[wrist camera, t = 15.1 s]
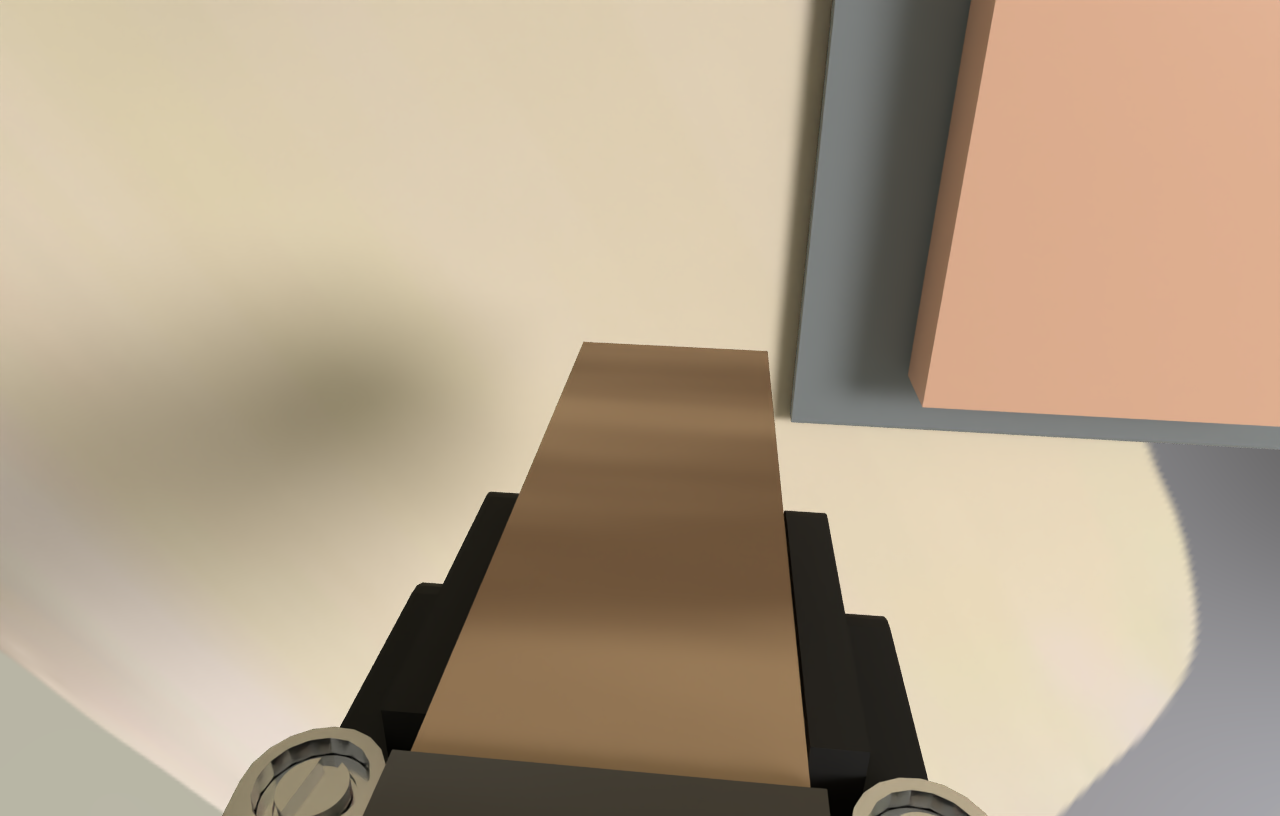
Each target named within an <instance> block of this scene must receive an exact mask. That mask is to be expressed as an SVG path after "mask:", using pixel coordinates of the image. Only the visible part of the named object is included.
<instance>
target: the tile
mask: <svg viewBox="0 0 1280 816" xmlns="http://www.w3.org/2000/svg"><path fill="white" fill-rule="evenodd" d="M908 377H909V379H910V381H911V383H912V386H913V388H914V390H915V392H916V394H917V397H918V399H919V401H920V403H921V405H922V407H926V408H945V409H963V410H982V411H1000V412H1019V413H1037V414H1055V415H1074V416H1092V417H1111V418H1129V419H1148V420H1166V421H1185V422H1203V423H1222V424H1240V425H1258V426H1277V427H1280V0H971V3H970V9H969V15H968V21H967V27H966V33H965V39H964V45H963V51H962V57H961V63H960V68H959V74H958V80H957V86H956V92H955V98H954V104H953V110H952V116H951V122H950V128H949V134H948V140H947V146H946V152H945V158H944V164H943V169H942V175H941V181H940V187H939V193H938V199H937V205H936V211H935V217H934V223H933V229H932V235H931V241H930V247H929V253H928V259H927V265H926V270H925V276H924V282H923V288H922V294H921V300H920V306H919V312H918V318H917V324H916V330H915V336H914V342H913V348H912V354H911V360H910V365H909V371H908Z"/></svg>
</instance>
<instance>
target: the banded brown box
mask: <svg viewBox="0 0 1280 816" xmlns="http://www.w3.org/2000/svg"><path fill="white" fill-rule="evenodd" d="M363 816H830V810H829V801H828V793H827V789H822V788H811V787H810V778H809V768H808V758H807V747H806V737H805V727H804V717H803V707H802V697H801V687H800V676H799V666H798V656H797V646H796V636H795V626H794V615H793V605H792V595H791V585H790V575H789V565H788V555H787V544H786V534H785V524H784V514H783V504H782V494H781V484H780V473H779V463H778V453H777V443H776V433H775V423H774V412H773V402H772V392H771V382H770V372H769V362H768V352H767V351H752V350H733V349H713V348H693V347H673V346H653V345H633V344H613V343H593V342H583V345H582V347H581V349H580V352H579V354H578V356H577V359H576V361H575V363H574V366H573V368H572V371H571V373H570V375H569V378H568V380H567V382H566V385H565V387H564V390H563V392H562V394H561V397H560V399H559V401H558V404H557V406H556V408H555V411H554V413H553V416H552V418H551V420H550V423H549V425H548V427H547V430H546V432H545V434H544V437H543V439H542V442H541V444H540V446H539V449H538V451H537V453H536V456H535V458H534V460H533V463H532V465H531V468H530V470H529V472H528V475H527V477H526V479H525V482H524V484H523V486H522V489H521V491H520V494H519V496H518V498H517V501H516V503H515V505H514V508H513V510H512V513H511V515H510V517H509V520H508V522H507V524H506V527H505V529H504V531H503V534H502V536H501V539H500V541H499V543H498V546H497V548H496V550H495V553H494V555H493V557H492V560H491V562H490V565H489V567H488V569H487V572H486V574H485V576H484V579H483V581H482V583H481V586H480V588H479V591H478V593H477V595H476V598H475V600H474V602H473V605H472V607H471V609H470V612H469V614H468V617H467V619H466V621H465V624H464V626H463V628H462V631H461V633H460V636H459V638H458V640H457V643H456V645H455V647H454V650H453V652H452V654H451V657H450V659H449V662H448V664H447V666H446V669H445V671H444V673H443V676H442V678H441V680H440V683H439V685H438V688H437V690H436V692H435V695H434V697H433V699H432V702H431V704H430V706H429V709H428V711H427V714H426V716H425V718H424V721H423V723H422V725H421V728H420V730H419V732H418V735H417V737H416V740H415V742H414V744H413V747H412V749H411V751H403V750H392V751H391V753H390V756H389V758H388V760H387V762H386V765H385V767H384V769H383V771H382V774H381V776H380V778H379V780H378V782H377V785H376V787H375V789H374V791H373V794H372V796H371V798H370V800H369V803H368V805H367V807H366V809H365V811H364V814H363Z"/></svg>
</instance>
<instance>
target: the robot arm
mask: <svg viewBox="0 0 1280 816" xmlns="http://www.w3.org/2000/svg"><path fill="white" fill-rule="evenodd" d="M518 496H519V494H518V493H503V492H489V493H488V494H487V496H486V498H485V500H484V502H483V504H482V506H481V508H480V510H479V512H478V514H477V516H476V518H475V520H474V522H473V524H472V526H471V528H470V530H469V532H468V534H467V536H466V538H465V540H464V542H463V544H462V546H461V548H460V550H459V552H458V554H457V556H456V559H455V561H454V563H453V565H452V567H451V569H450V571H449V573H448V575H447V577H446V579H445V581H444V583H443V584H436V583H421V584H419V585H417V586H416V588H415V589H414V591H413V592H412V594H411V596H410V598H409V599H408V601H407V603H406V605H405V607H404V609H403V611H402V612H401V614H400V616H399V618H398V620H397V622H396V624H395V625H394V627H393V629H392V631H391V633H390V635H389V637H388V638H387V640H386V642H385V644H384V646H383V648H382V650H381V652H380V653H379V655H378V657H377V659H376V661H375V663H374V665H373V666H372V668H371V670H370V672H369V674H368V676H367V678H366V679H365V681H364V683H363V685H362V687H361V689H360V691H359V692H358V694H357V696H356V698H355V700H354V702H353V704H352V706H351V707H350V709H349V711H348V713H347V715H346V717H345V719H344V720H343V722H342V724H341V726H340V727H328V728H318V729H312V730H309V731H306V732H302V733H299V734H296V735H293V736H290V737H289V738H287V739H285V740H283V741H282V742H280V743H278V744H276V745H274V746H273V747H271V748H269V749H268V750H267V751H266V752H265V753H264V754H263V755H261V756H260V757H259V758H258V759H257V760H256V761H255V762H253V763H252V765H251V766H250V767H249V769H248V770H247V772H246V773H245V775H244V776H243V777H242V779H241V780H240V782H239V784H238V786H237V788H236V790H235V792H234V793H233V795H232V797H231V799H230V801H229V803H228V805H227V807H226V809H225V811H224V813H223V815H222V816H363V814H364V811H365V809H366V807H367V805H368V803H369V800H370V798H371V796H372V794H373V791H374V789H375V787H376V785H377V782H378V780H379V778H380V776H381V774H382V771H383V769H384V767H385V765H386V762H387V760H388V758H389V756H390V753H391V751H392V750H403V751H411V749H412V747H413V744H414V742H415V740H416V737H417V735H418V732H419V730H420V728H421V725H422V723H423V721H424V718H425V716H426V714H427V711H428V709H429V706H430V704H431V702H432V699H433V697H434V695H435V692H436V690H437V688H438V685H439V683H440V680H441V678H442V676H443V673H444V671H445V669H446V666H447V664H448V662H449V659H450V657H451V654H452V652H453V650H454V647H455V645H456V643H457V640H458V638H459V636H460V633H461V631H462V628H463V626H464V624H465V621H466V619H467V617H468V614H469V612H470V609H471V607H472V605H473V602H474V600H475V598H476V595H477V593H478V591H479V588H480V586H481V583H482V581H483V579H484V576H485V574H486V572H487V569H488V567H489V565H490V562H491V560H492V557H493V555H494V553H495V550H496V548H497V546H498V543H499V541H500V539H501V536H502V534H503V531H504V529H505V527H506V524H507V522H508V520H509V517H510V515H511V513H512V510H513V508H514V505H515V503H516V501H517V498H518ZM784 524H785V534H786V544H787V555H788V565H789V575H790V585H791V595H792V605H793V615H794V626H795V636H796V646H797V656H798V666H799V676H800V687H801V697H802V707H803V717H804V727H805V737H806V747H807V758H808V768H809V778H810V787H811V788H822V789H827V793H828V801H829V810H830V816H987V815H986V813H985V812H983V811H982V810H981V809H980V808H979V807H977V806H976V805H975V804H974V803H973V802H971V801H970V800H969V799H968V798H967V797H965V796H963V795H961V794H960V793H958V792H956V791H954V790H952V789H950V788H948V787H946V786H945V785H942V784H938V783H934V782H931V781H928V778H927V774H926V770H925V766H924V762H923V758H922V754H921V750H920V746H919V742H918V738H917V734H916V730H915V726H914V722H913V718H912V714H911V710H910V706H909V702H908V698H907V694H906V690H905V686H904V682H903V678H902V674H901V670H900V666H899V662H898V658H897V654H896V650H895V646H894V642H893V638H892V634H891V630H890V627H889V624H888V621H887V619H886V618H885V617H884V616H870V615H857V614H845V611H844V605H843V600H842V594H841V589H840V583H839V578H838V572H837V567H836V562H835V556H834V551H833V545H832V540H831V534H830V529H829V523H828V518H827V515H826V514H825V513H813V512H798V511H784Z"/></svg>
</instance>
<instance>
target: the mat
mask: <svg viewBox="0 0 1280 816" xmlns="http://www.w3.org/2000/svg"><path fill="white" fill-rule="evenodd" d="M970 3H971V0H833V2H832V11H831V21H830V31H829V40H828V50H827V60H826V69H825V79H824V89H823V98H822V108H821V118H820V127H819V137H818V147H817V157H816V166H815V176H814V186H813V195H812V205H811V215H810V224H809V234H808V244H807V253H806V263H805V273H804V282H803V292H802V302H801V311H800V321H799V331H798V340H797V350H796V360H795V370H794V379H793V389H792V399H791V408H790V416H791V422H798V423H816V424H834V425H852V426H870V427H887V428H905V429H923V430H941V431H958V432H976V433H994V434H1012V435H1030V436H1047V437H1065V438H1083V439H1101V440H1118V441H1136V442H1154V443H1172V444H1173V443H1174V444H1190V445H1207V446H1225V447H1243V448H1261V449H1279V450H1280V427H1277V426H1258V425H1240V424H1222V423H1203V422H1185V421H1166V420H1148V419H1129V418H1111V417H1092V416H1074V415H1055V414H1037V413H1019V412H1000V411H982V410H963V409H945V408H926V407H922V405H921V403H920V401H919V399H918V397H917V394H916V392H915V390H914V388H913V386H912V383H911V381H910V379H909V377H908V371H909V365H910V360H911V354H912V348H913V342H914V336H915V330H916V324H917V318H918V312H919V306H920V300H921V294H922V288H923V282H924V276H925V270H926V265H927V259H928V253H929V247H930V241H931V235H932V229H933V223H934V217H935V211H936V205H937V199H938V193H939V187H940V181H941V175H942V169H943V164H944V158H945V152H946V146H947V140H948V134H949V128H950V122H951V116H952V110H953V104H954V98H955V92H956V86H957V80H958V74H959V68H960V63H961V57H962V51H963V45H964V39H965V33H966V27H967V21H968V15H969V9H970Z"/></svg>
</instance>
